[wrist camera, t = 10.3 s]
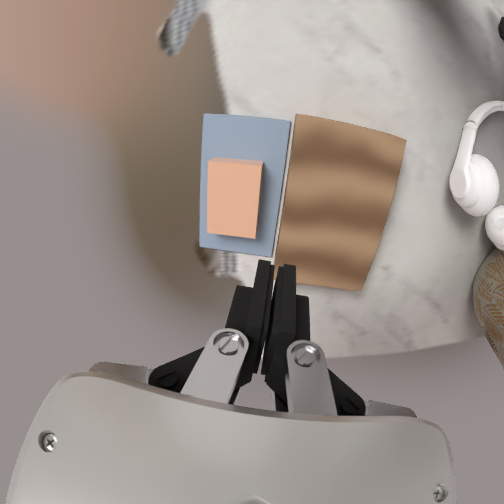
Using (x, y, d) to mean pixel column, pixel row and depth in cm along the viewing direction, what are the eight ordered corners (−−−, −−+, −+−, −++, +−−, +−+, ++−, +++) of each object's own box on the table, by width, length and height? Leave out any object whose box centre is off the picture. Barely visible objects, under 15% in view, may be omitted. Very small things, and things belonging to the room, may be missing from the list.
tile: (261, 166, 29) (263, 161, 31) (208, 161, 29) (213, 157, 31) (255, 238, 33) (257, 229, 35) (207, 232, 34) (212, 224, 36)
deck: (295, 113, 28) (297, 114, 24) (393, 135, 27) (406, 140, 24) (274, 262, 38) (272, 279, 35) (355, 273, 37) (361, 291, 34)
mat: (204, 113, 29) (203, 113, 28) (290, 121, 28) (290, 121, 28) (200, 245, 38) (199, 246, 38) (271, 255, 38) (271, 256, 37)
